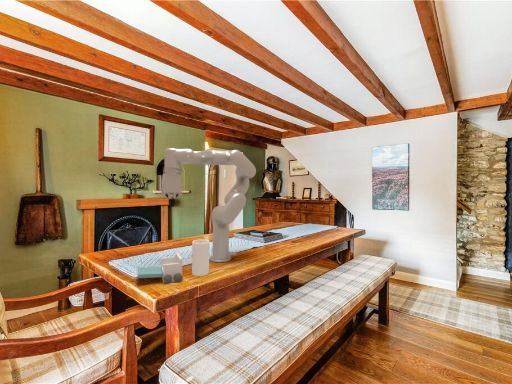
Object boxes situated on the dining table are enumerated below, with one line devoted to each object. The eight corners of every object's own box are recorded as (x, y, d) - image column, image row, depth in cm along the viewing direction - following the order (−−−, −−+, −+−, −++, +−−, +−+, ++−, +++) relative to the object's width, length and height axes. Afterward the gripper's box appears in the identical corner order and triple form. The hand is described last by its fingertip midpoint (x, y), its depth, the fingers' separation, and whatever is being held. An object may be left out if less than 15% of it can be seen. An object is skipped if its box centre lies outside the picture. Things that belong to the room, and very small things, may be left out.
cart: (177, 271, 128) (177, 251, 128) (182, 281, 115) (182, 259, 115) (160, 273, 125) (161, 253, 125) (163, 284, 112) (163, 261, 112)
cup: (193, 270, 130) (193, 239, 130) (209, 270, 131) (210, 239, 130) (190, 276, 122) (191, 243, 121) (208, 276, 123) (208, 243, 122)
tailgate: (160, 266, 123) (137, 267, 119) (162, 273, 113) (138, 274, 109) (160, 269, 123) (137, 270, 119) (162, 277, 113) (137, 278, 109)
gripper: (185, 172, 141) (184, 205, 142) (156, 171, 135) (156, 206, 136) (187, 172, 135) (187, 206, 135) (157, 171, 128) (157, 207, 129)
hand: (171, 206), depth 135 cm, fingers closed
